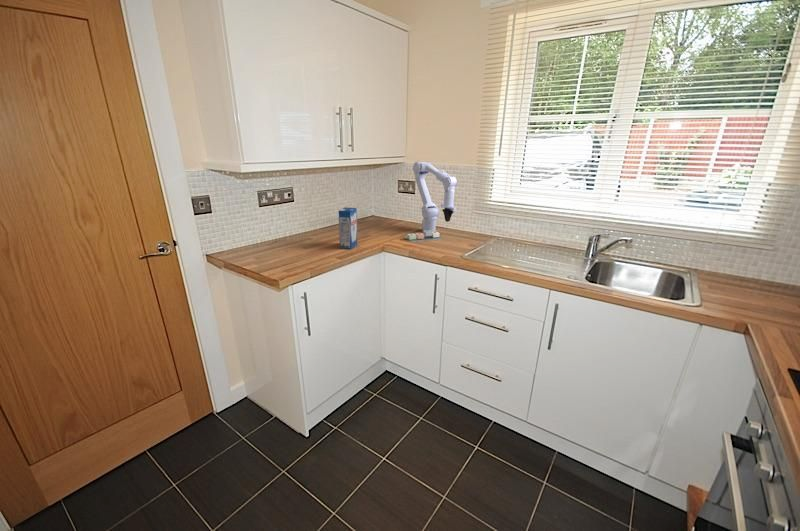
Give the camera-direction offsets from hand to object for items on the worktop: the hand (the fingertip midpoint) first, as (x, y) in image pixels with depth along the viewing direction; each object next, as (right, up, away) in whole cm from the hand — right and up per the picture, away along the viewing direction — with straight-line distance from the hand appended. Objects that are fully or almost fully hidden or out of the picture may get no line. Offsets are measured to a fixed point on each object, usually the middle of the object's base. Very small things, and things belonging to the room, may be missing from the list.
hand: (447, 221), depth 202 cm
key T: (-17, -10, -5) cm, 20 cm away
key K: (-12, -8, -4) cm, 15 cm away
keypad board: (-15, -11, -4) cm, 19 cm away
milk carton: (-55, -16, -19) cm, 61 cm away
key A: (-8, -9, -1) cm, 12 cm away
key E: (-21, -11, -7) cm, 25 cm away
